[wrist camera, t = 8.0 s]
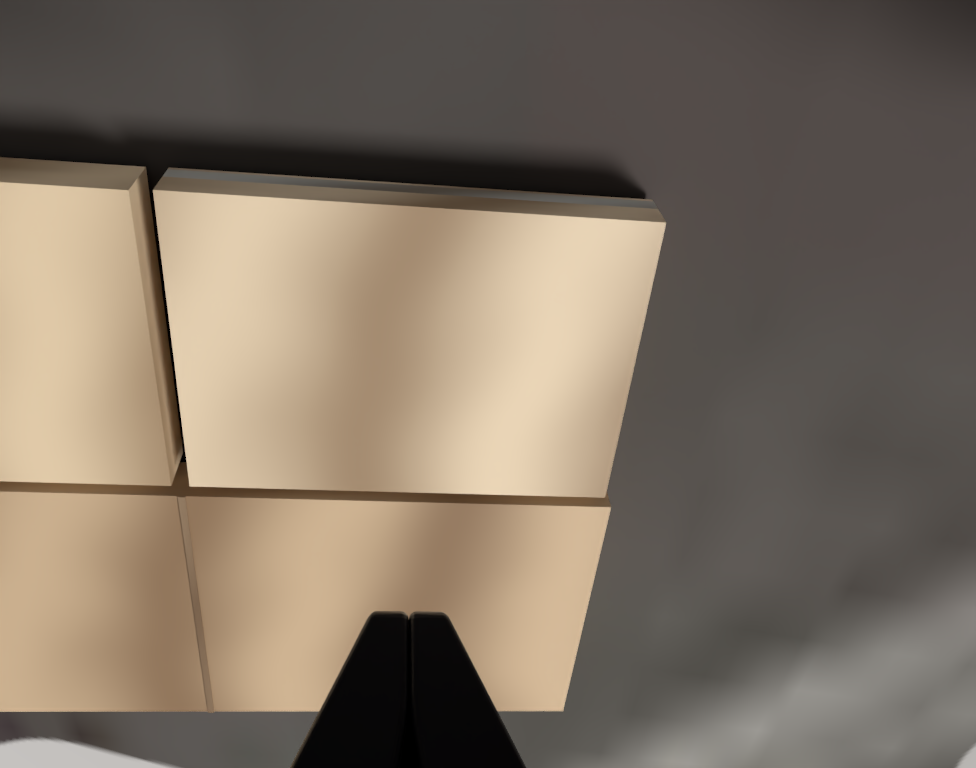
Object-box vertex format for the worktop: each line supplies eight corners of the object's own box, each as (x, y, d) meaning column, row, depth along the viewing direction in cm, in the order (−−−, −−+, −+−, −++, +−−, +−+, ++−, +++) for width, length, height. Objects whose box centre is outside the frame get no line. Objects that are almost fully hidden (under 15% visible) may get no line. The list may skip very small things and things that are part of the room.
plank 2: (652, 199, 18) (666, 222, 17) (596, 466, 21) (605, 497, 20) (168, 167, 17) (152, 189, 16) (201, 453, 20) (189, 486, 19)
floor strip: (602, 474, 22) (611, 508, 21) (557, 676, 26) (562, 712, 25) (-263, 448, 19) (-301, 485, 18) (-150, 673, 24) (-175, 712, 23)
